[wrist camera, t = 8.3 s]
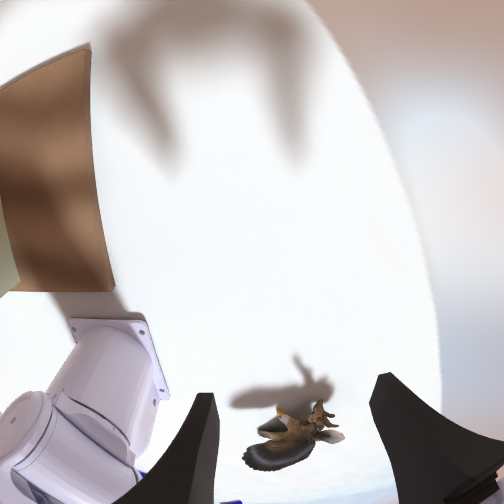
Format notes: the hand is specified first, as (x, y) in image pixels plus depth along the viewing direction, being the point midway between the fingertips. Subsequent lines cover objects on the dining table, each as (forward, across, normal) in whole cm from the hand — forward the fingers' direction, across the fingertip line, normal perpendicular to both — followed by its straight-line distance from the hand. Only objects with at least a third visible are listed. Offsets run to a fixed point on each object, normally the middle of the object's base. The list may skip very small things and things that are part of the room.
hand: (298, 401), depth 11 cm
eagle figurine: (+11, -2, +16) cm, 19 cm away
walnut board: (+10, +23, -10) cm, 27 cm away
